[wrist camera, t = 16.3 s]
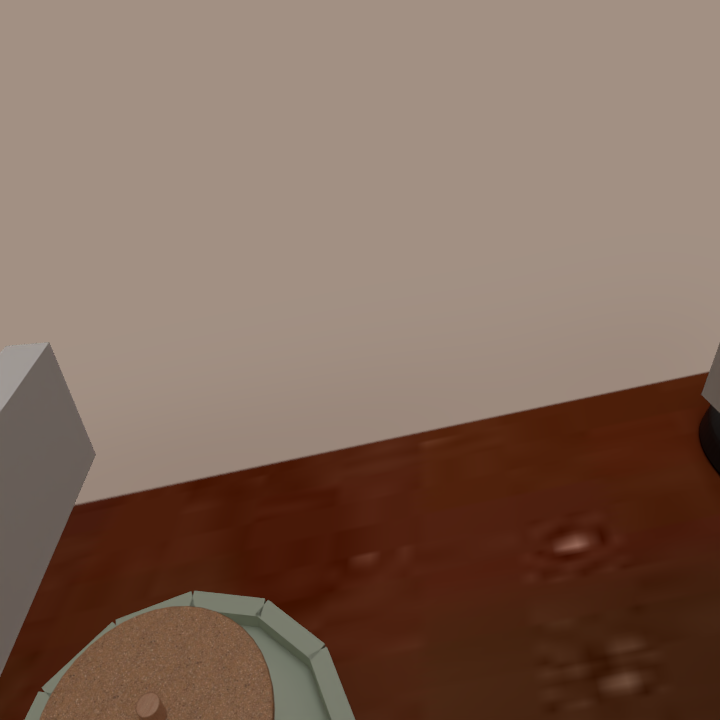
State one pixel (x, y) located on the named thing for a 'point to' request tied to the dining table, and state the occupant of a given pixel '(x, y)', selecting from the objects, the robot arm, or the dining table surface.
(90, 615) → the dining table surface
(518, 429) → the dining table surface
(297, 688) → the rimmed tray
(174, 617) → the lidded jar
